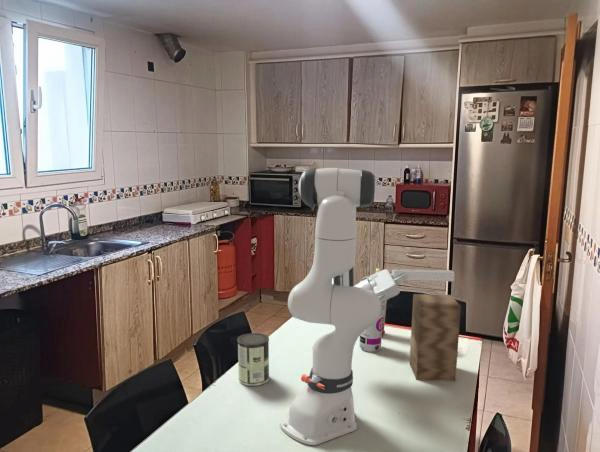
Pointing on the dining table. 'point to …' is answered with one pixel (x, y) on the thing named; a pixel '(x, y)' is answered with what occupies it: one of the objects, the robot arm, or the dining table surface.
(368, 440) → the dining table surface
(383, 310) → the liquor
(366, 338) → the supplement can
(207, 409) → the dining table surface
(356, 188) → the robot arm
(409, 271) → the aluminium bar
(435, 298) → the walnut stand
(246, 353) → the coffee can
